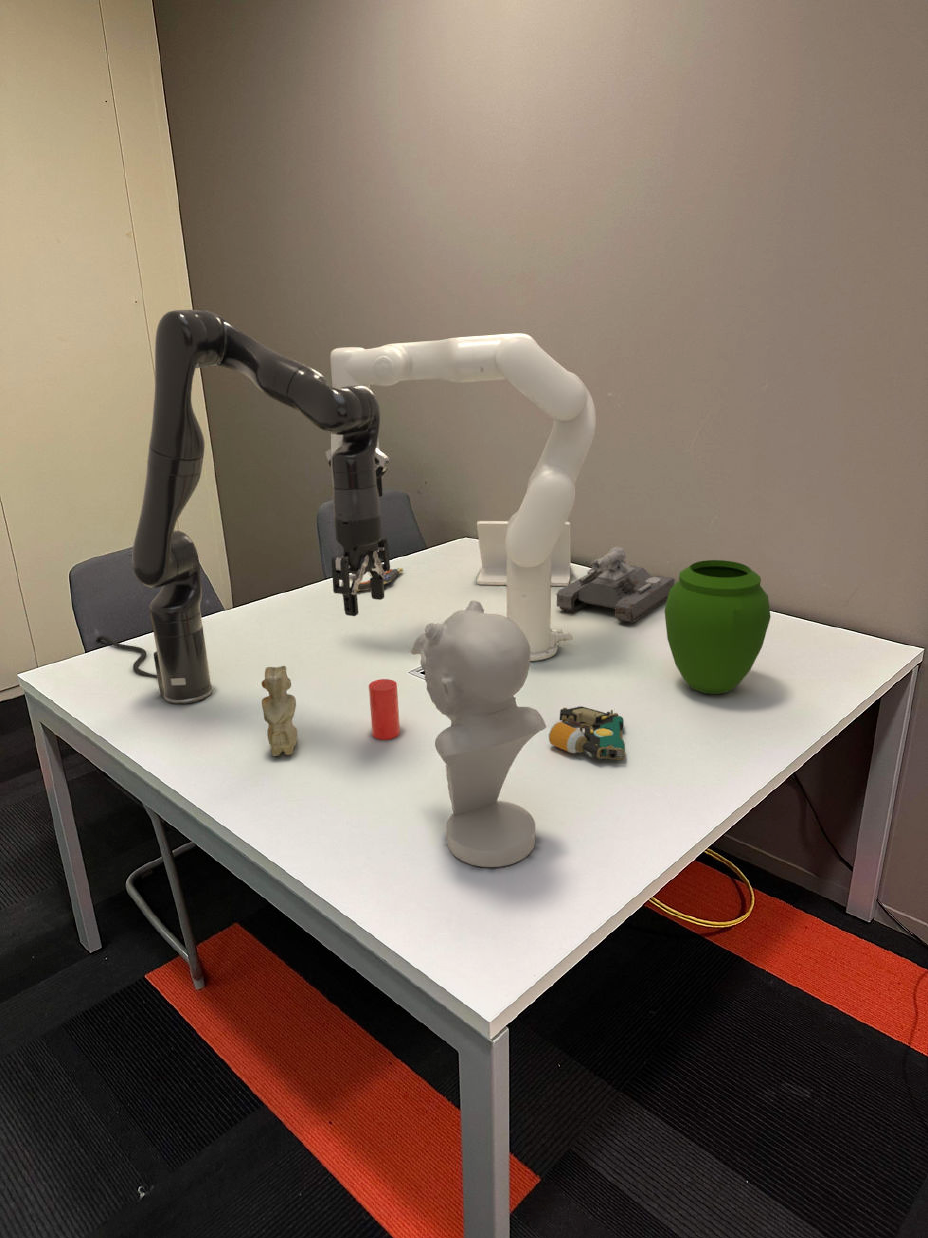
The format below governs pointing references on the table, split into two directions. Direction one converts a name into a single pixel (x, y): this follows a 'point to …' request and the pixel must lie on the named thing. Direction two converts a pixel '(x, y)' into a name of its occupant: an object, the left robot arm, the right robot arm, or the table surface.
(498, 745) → the bust sculpture
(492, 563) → the tablet stand
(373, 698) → the canister
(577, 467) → the right robot arm
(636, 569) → the toy
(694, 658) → the vase
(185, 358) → the left robot arm
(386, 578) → the toy gun
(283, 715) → the sculpture
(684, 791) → the table surface
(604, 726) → the spray gun
